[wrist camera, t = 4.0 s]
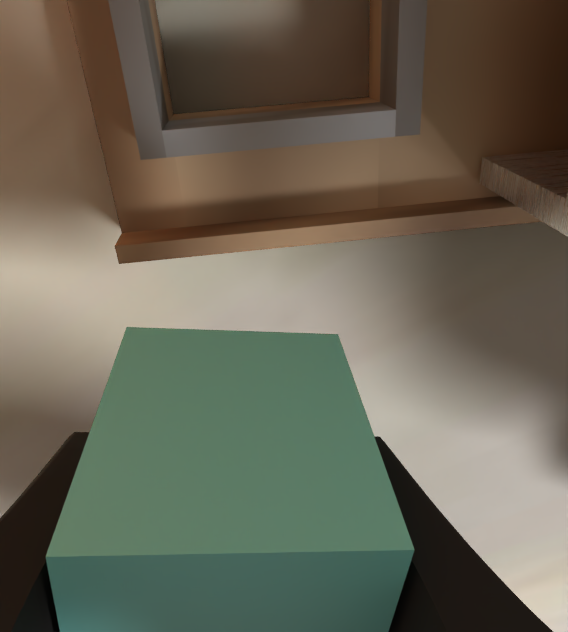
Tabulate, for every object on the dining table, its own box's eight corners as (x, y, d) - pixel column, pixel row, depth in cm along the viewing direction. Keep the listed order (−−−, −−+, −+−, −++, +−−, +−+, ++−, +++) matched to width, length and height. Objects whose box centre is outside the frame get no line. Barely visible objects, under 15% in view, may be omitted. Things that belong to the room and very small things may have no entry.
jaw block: (313, 482, 12) (358, 725, 8) (136, 482, 11) (81, 743, 7) (337, 333, 10) (414, 550, 6) (126, 327, 10) (45, 557, 5)
